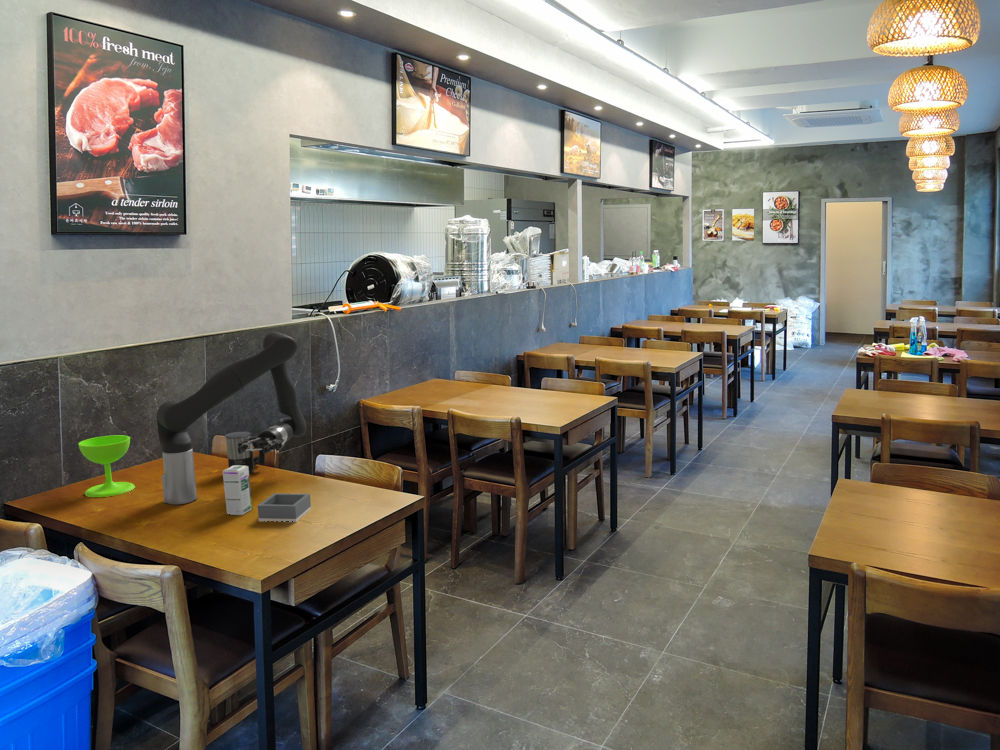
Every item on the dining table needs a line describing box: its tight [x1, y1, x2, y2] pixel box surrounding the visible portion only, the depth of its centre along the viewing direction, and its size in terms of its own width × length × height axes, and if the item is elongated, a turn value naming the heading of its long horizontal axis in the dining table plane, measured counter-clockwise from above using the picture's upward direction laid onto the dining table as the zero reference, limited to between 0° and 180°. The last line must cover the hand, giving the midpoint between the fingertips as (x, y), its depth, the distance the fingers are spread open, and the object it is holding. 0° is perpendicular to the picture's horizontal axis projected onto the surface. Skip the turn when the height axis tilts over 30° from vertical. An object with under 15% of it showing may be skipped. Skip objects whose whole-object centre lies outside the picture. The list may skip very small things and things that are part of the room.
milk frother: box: [224, 431, 266, 475], centre depth 287 cm, size 14×16×15 cm
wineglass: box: [78, 434, 136, 498], centre depth 264 cm, size 16×16×18 cm
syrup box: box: [222, 465, 253, 516], centre depth 238 cm, size 6×6×14 cm
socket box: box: [257, 492, 312, 523], centre depth 235 cm, size 12×12×5 cm
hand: (251, 450), depth 248 cm, fingers open, 8 cm apart
